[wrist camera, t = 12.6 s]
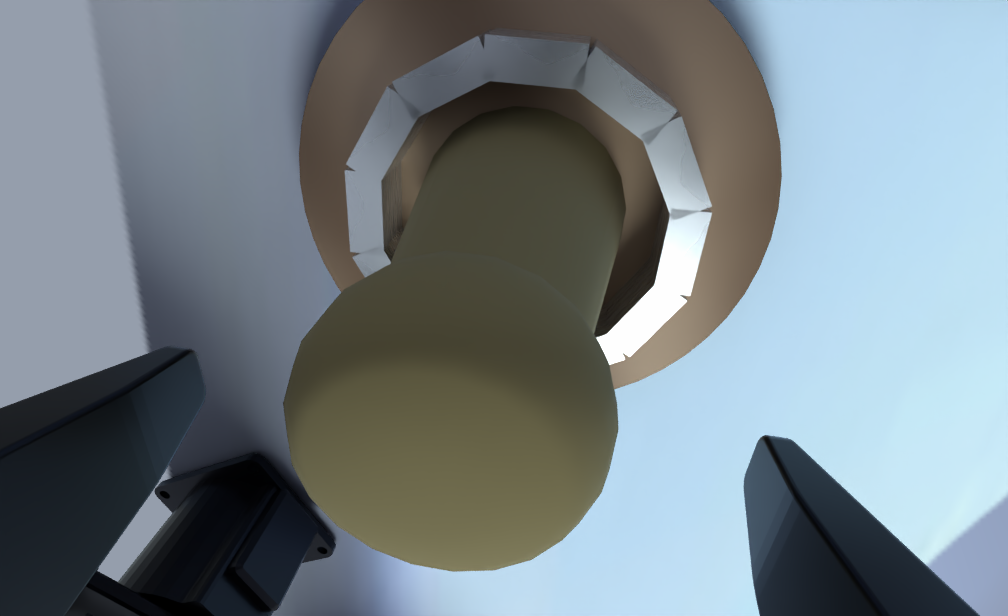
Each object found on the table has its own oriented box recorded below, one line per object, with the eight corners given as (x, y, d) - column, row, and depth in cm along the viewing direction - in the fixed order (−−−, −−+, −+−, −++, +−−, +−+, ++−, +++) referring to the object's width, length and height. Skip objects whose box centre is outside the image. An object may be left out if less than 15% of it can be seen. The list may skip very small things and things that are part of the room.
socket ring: (461, 379, 21) (449, 411, 19) (308, 126, 17) (279, 142, 16) (738, 291, 18) (750, 321, 16) (625, -43, 14) (627, -45, 12)
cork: (387, 152, 17) (122, 374, 8) (585, 69, 15) (557, 231, 6) (472, 322, 20) (350, 648, 10) (651, 269, 18) (707, 608, 8)
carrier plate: (445, 418, 24) (437, 439, 22) (228, 80, 18) (205, 87, 17) (820, 308, 19) (833, 327, 18) (682, -193, 13) (688, -207, 12)
